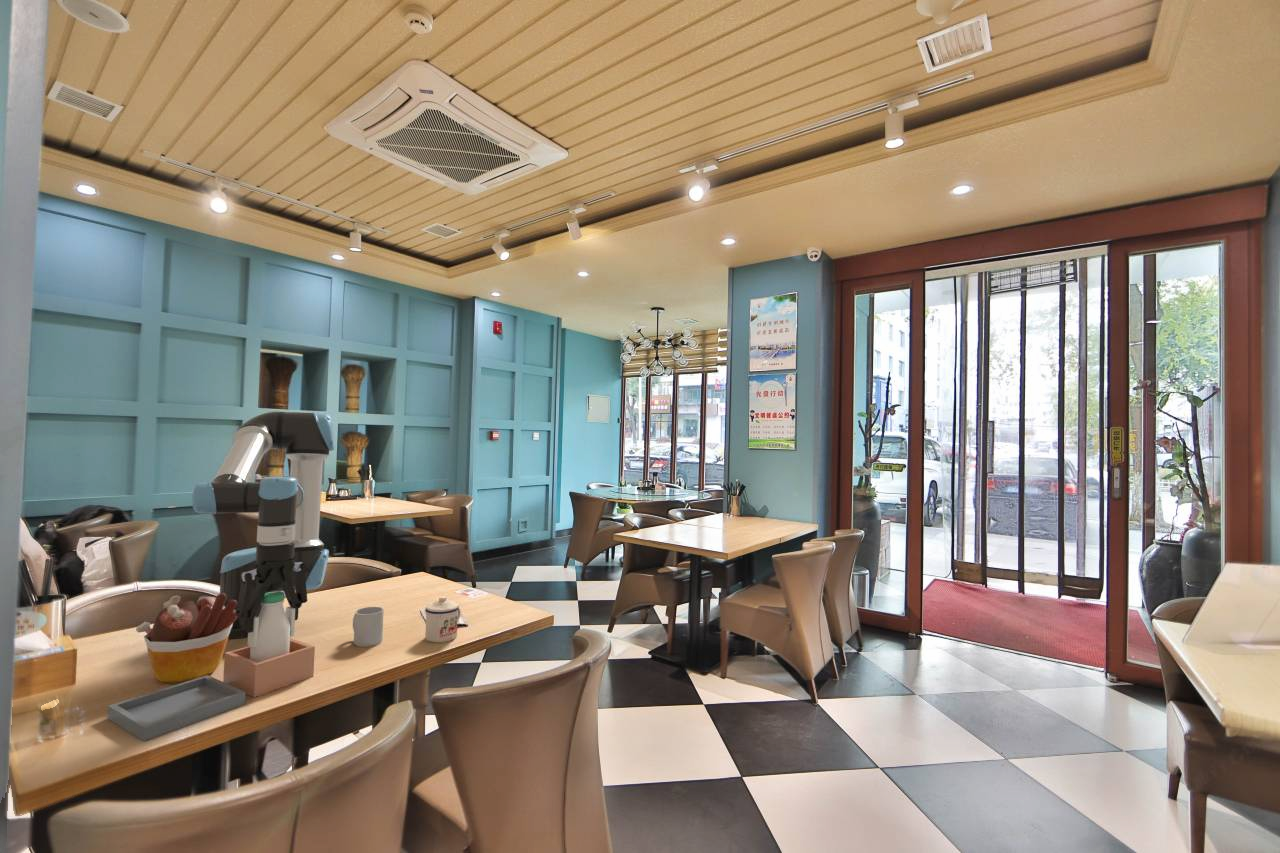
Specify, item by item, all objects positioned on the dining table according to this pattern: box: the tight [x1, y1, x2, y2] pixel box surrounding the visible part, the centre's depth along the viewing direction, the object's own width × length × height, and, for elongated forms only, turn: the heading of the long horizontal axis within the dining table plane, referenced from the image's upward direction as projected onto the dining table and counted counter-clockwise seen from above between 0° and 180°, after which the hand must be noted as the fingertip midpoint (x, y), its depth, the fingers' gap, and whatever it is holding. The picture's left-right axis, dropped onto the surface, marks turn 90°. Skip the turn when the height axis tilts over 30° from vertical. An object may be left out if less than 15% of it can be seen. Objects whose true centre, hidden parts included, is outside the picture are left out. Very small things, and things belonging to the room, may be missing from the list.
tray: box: [107, 674, 247, 742], centre depth 113 cm, size 16×17×2 cm
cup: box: [352, 606, 384, 648], centre depth 154 cm, size 7×10×9 cm
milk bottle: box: [250, 591, 291, 663], centre depth 129 cm, size 8×8×20 cm
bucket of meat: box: [135, 592, 238, 684], centre depth 130 cm, size 20×16×20 cm
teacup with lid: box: [424, 595, 462, 644], centre depth 160 cm, size 12×9×12 cm
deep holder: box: [222, 637, 316, 698], centre depth 128 cm, size 13×13×7 cm
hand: (271, 640), depth 129 cm, fingers closed on milk bottle, 7 cm apart
